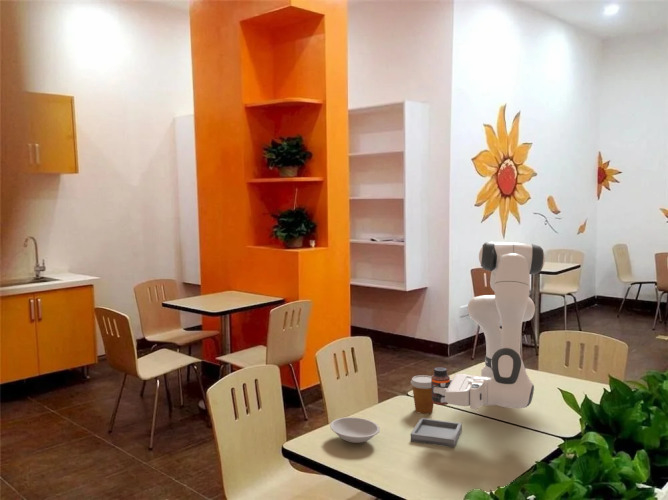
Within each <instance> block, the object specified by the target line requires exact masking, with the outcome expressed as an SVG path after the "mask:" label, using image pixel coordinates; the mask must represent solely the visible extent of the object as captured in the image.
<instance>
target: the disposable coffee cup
mask: <svg viewBox="0 0 668 500" xmlns="http://www.w3.org/2000/svg"><path fill="white" fill-rule="evenodd" d="M431 377H432V375H424V374H423V375H420V374H419V375H415V376H413V377H412V378H411V380H410V384H411V386H412V387H411V389H412V394H413V401H414V402H413V403H414V408H415V411H416V413H419V414H423V415H427V414H431V413H433V411H434V405H435V404H434V403H433V402H432V389H431Z"/></svg>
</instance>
